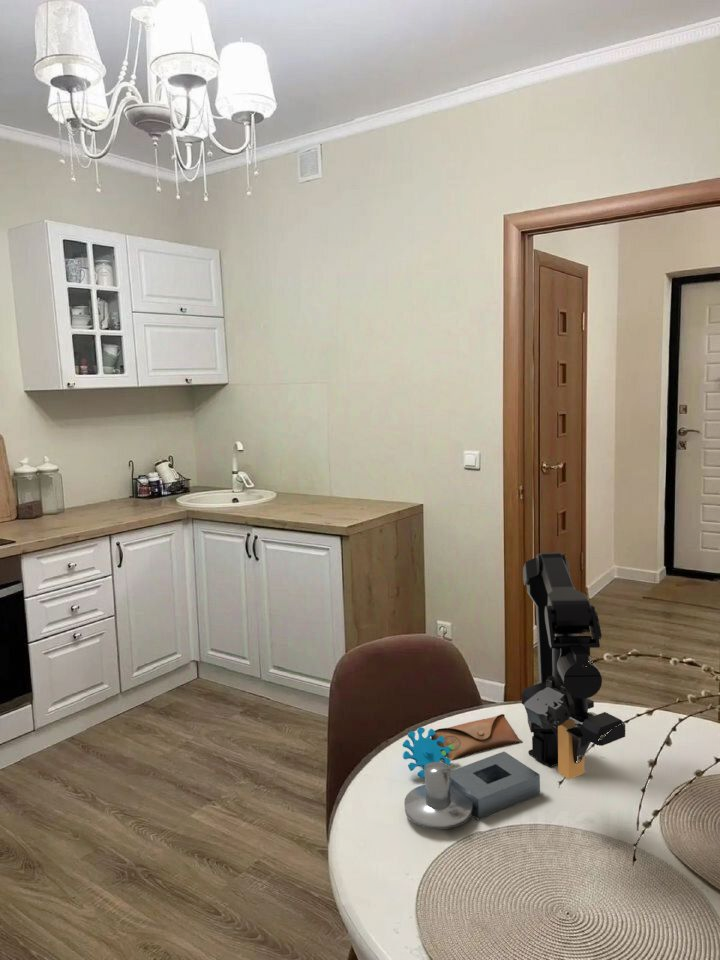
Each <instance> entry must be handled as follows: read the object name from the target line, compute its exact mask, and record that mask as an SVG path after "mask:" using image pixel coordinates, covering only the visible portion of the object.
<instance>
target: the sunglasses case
mask: <svg viewBox="0 0 720 960" xmlns="http://www.w3.org/2000/svg"><path fill="white" fill-rule="evenodd" d="M434 731H435V732H436V733H435V734H434V735H433V736H430V739H431V740H436V739H438V738H439V737H440V736H443V738H444V740H445V741H444V742H443V743H442V744H440V743H438V742H437V745H438V746H440V747H448V746H449V745H450V744H453V745H454V749H453V750H452V751H451V752H450V753H449V755H448V756H447V757H446V758H449V759H450V760H451V762H452V761H455V760H458V759H461V758H464V757H467V756H470V755H474V754H478V753H481V752H482V753H483V752H486V751H489V750H493V749H494V750H495V749H498V748H502V747H505V746H511V745H515V744H521V743H523V740H522V739H520V738H519V737H518V735H517V734H516V732H515V731H514V729H513V728H512V725H511V724H510V723H509V721H508V720H507V718H506V716H505V714H504V713H502V714H498V715H496V716H492V717H487V718H482V719H479V720H474V721H473V720H471V721H469V722H465V723H461V724H457V725H453V726H449V727H442V728H437V729H435V730H434Z"/></svg>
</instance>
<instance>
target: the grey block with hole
mask: <svg viewBox="0 0 720 960" xmlns="http://www.w3.org/2000/svg"><path fill="white" fill-rule="evenodd" d="M424 770H425V776H424V784H422V785H419V786H417V787H414V788H413V789H411V790H410V791H409V792H408V793H407V794H406V796H405V798H404V802H403V804H404V805H403V806H404V812H405V814H406V815H405V816H406V817H407V818H408V819H409V820H410V821H411V822H412V823H414V824H415V825H418V826H419V827H422V828H426V829H432V830H446V829H447V830H448V829H452V828H456V827H460V826H461V825H463V824H465V823H466V822H467V821H468V820H469V819H470V818H471V817H472V816H473V817H474V818H475V819H477V820H478V821H481V820H484V819H485V818H488V817H490V816H493V815H495V814H498V813H500V812H502V811H505V810H508V809H509V808H512V807H514V806H517V805H519V804H522V803H523V802H526V801H529V800H531V799H533V798H536V797H538V796H540V795H541V776H540V773H538V772H537V771H535V770H534V769H532V768H530V767H529V766H527V765H526V764H525V763H523V762H521V761H520V760H518V759H517V758H515V757H514V756H512V755H511V754H509V753H507V752H506V751H500V752H498V753H496V754H493V755H491V756H487V757H485V758H482V759H479V760H476V761H475V762H471V763H469V764H467V765H466V764H465V765H463V766H461V767H458V768H455V769H453V770H451V769H450V765H447V764H445V763H443V761H440V762H431V763H428V764H427V765H426V766H425V768H424Z"/></svg>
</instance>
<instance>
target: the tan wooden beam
mask: <svg viewBox="0 0 720 960" xmlns="http://www.w3.org/2000/svg"><path fill="white" fill-rule="evenodd" d="M575 724H576V721H574V720H572V719H568V720H566V721H565V722H564V723H562V724H561V725H560V726H558V764H557V765H558V767H557V768H558V770H557V771H558V772H557V773H558V774H559V775H561V776H563V777H564V778H566V779H568V780H572V779H574V778H576V777H579V776H581V775H584V774H585V755H584V756H583V758H582V760H581V762H580V763H577V764H576V763H574V758H573V744H572V736H571V735H570V734H569V733H568V732H567V731H566V730H568V729H571V728H573V727H575Z"/></svg>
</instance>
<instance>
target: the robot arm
mask: <svg viewBox="0 0 720 960" xmlns="http://www.w3.org/2000/svg"><path fill="white" fill-rule="evenodd" d="M522 580H523V585H524V586H526V592H527V594H528V596H529V597H530V599H531V600H532V602H533V603H534V605H535V618H536V619H535V620H536V640H537V642H536V643H537V662H538V663H537V664H538V679H537V682H536V684H534V685H533V684H532V685H529V686H527V687H525V688H524V689H523V691H522V693H521V696H520V697H521V704H522V705H523V706H524V709H525V712H526V715H527V725H528V727H529V730H530V731H529V732H530V733H533V735H532V737H531V742H532V743H531V746H532V747H531V748H532V749H529V750H528V754H529V755H530V756H532V757H533V758H535V759H536V760H538V761H540V762H541V763H543V764H544V765H546V766H548V767H549V768H550V767H554V766H557V765H558V726H560V725H561V724H562V723H564V722H565V721H566V720H568V719H572V720H574V721H576V724H575V727H573V728H571V729H568V730H566V731H567V732H568V733H569V734H570V735H571V736H572V744H573V758H574V763H576V761H577V756H579V755H583V756H584V757H585V754H586V752H587V750H588V749H589V747H590V745H591V743H592V744H594V745H595V746H600V747H603V746H605V745H608V744H611V743H613V742H616V741H618V740H621V739H623V738H625V737H626V723H625V722H624V721H623V720H622V719H620V718H618V717H616V716H615V715H614V716H613V715H612V714H610V713H609V712H606V711H604V712H601V713H598V714H597V713H595V712H594V711H593V712H592V711H589V710H590V709H593V708H594V707H595V706H594V705H595V702H594V701H593V700H592V699H589V698H591V697H593V696H595V695H596V694H598V692H600V690H601V687H602V683H603V677H602V675H601V672H600V670H599V668H598V666H597V665H596V664H595V662H594V663H593V661H594V660H593V657H592V655H591V649H593V648H594V649H595V648H600V647H601V646H600V645H601V644H600V640H601V639H602V630H601V625H600V620H599V615H598V612H597V610H596V608H595V606H594V605H593V604H591V602H590V599H589V598H588V597H587V595H586V594H585V593H584V592H582V591H580V590H577V589H576V588H575V585H574V584H573V581H572V578H571V573H570V563H569V560H568V559H567V558H566V555H565V553H561V552H560V551H559V552H555V551H554V552H553V551H552V552H540V553H537V554H536V556H535V557H534V558H532V559H529V560H527V561H525V562H524V565H523V567H522ZM580 634H591V635H580ZM590 660H593V661H592V662H590ZM588 661H589V662H588ZM591 663H593V664H592V665H591ZM583 664H584V665H583ZM582 665H583V666H584V667H582ZM585 666H587V667H585ZM588 711H589V712H588ZM622 723H623V724H622ZM619 724H621V725H619ZM618 725H619V726H618ZM615 726H617V727H615ZM611 729H612V730H611ZM610 730H611V731H610ZM609 731H610V732H609ZM607 732H609V733H608V734H606V733H607ZM604 734H606V736H605V737H604V738H603V739H602V740H599V741H598V739H599V738H600V736H601V735H604ZM580 762H581V761H580ZM580 762H578V763H580ZM576 764H577V763H576Z"/></svg>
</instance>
